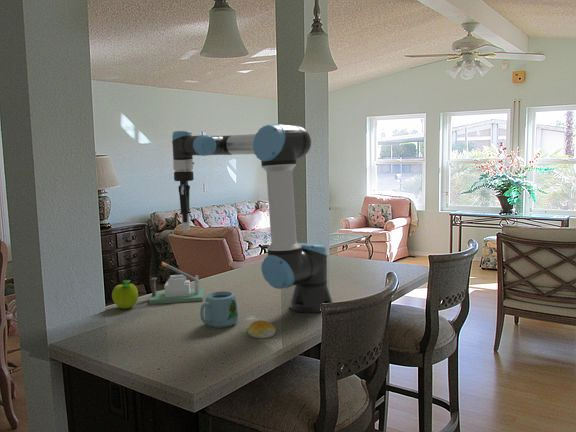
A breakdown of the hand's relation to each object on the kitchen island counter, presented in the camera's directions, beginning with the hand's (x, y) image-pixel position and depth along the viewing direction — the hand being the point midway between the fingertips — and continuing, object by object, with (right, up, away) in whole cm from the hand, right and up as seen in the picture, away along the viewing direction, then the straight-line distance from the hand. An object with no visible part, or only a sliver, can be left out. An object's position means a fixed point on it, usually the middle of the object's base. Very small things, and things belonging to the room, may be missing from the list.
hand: (186, 230), depth 206 cm
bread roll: (+33, -31, -46) cm, 64 cm away
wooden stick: (-2, -17, -3) cm, 17 cm away
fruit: (-20, -29, -14) cm, 37 cm away
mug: (+18, -30, -37) cm, 51 cm away
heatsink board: (-3, -27, -2) cm, 27 cm away
